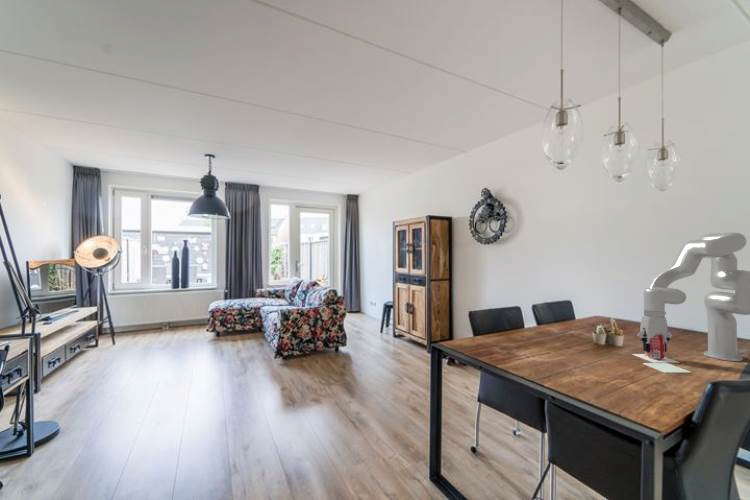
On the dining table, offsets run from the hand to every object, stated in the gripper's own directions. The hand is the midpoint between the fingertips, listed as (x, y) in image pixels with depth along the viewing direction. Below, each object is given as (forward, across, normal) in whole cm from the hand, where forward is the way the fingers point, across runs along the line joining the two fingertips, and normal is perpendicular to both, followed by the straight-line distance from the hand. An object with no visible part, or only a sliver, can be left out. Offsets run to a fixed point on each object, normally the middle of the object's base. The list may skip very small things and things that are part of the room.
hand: (654, 351), depth 150 cm
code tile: (+3, 0, 0) cm, 3 cm away
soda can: (+3, 0, 0) cm, 3 cm away
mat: (+3, +7, +13) cm, 15 cm away
